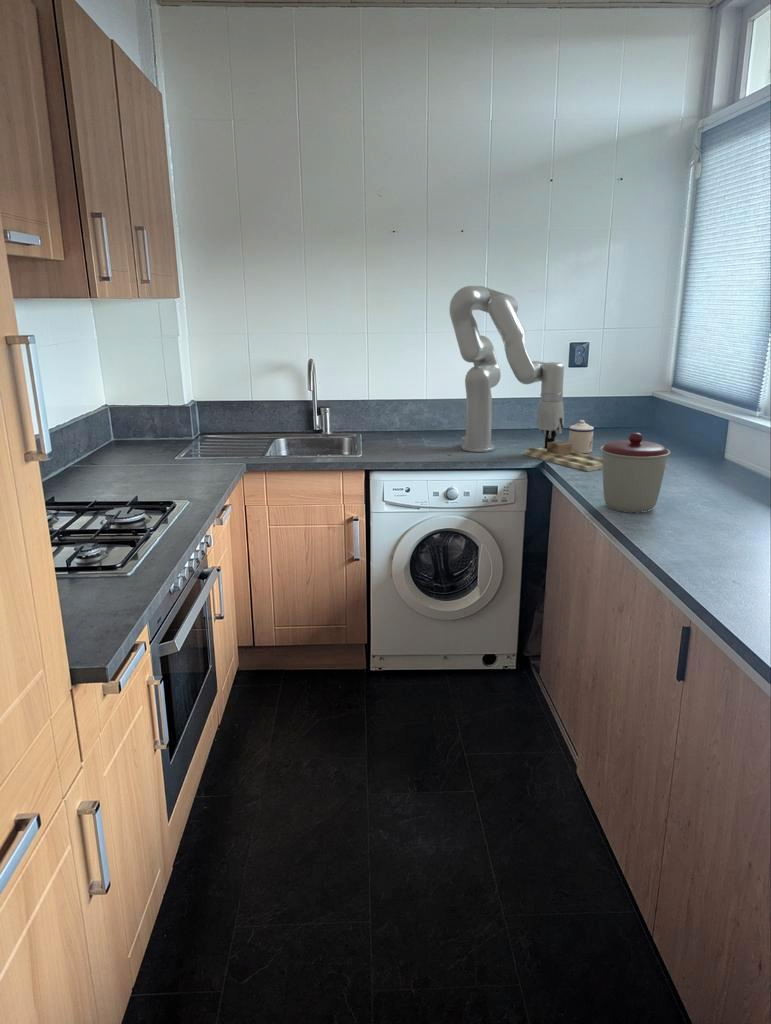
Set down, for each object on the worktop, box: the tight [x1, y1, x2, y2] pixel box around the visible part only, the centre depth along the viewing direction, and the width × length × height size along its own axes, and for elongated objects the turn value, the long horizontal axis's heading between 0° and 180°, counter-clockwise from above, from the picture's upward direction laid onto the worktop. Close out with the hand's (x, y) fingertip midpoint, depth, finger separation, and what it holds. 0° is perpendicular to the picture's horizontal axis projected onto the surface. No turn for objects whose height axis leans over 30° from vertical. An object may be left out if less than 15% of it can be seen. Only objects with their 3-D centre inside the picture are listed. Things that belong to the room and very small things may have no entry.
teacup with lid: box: [568, 419, 595, 455], centre depth 273 cm, size 12×9×12 cm
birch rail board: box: [523, 444, 603, 472], centre depth 258 cm, size 32×12×2 cm, turn 31°
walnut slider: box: [547, 440, 572, 455], centre depth 261 cm, size 6×6×4 cm
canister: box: [599, 432, 671, 513], centre depth 198 cm, size 18×18×21 cm
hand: (549, 448), depth 265 cm, fingers closed
